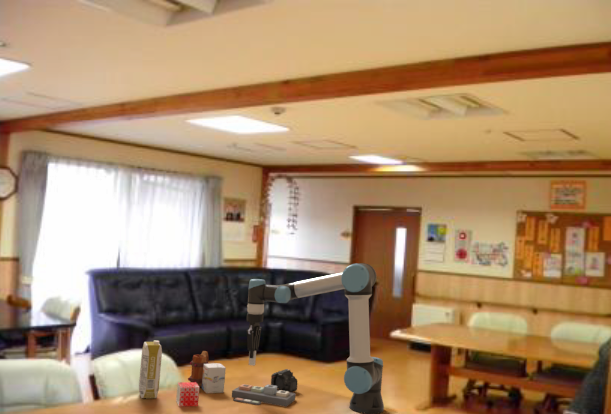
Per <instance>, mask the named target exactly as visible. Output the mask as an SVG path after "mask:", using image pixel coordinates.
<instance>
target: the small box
mask: <svg viewBox="0 0 611 414" xmlns="http://www.w3.org/2000/svg"><path fill="white" fill-rule="evenodd" d="M199 396H200V387H199V386H198V384H197V383H196V382H190V381H189V382H188V381H187V382H179V381H178V382H177V389H176V398H175V401H176V403H177V405H178V407H198V406H199Z"/></svg>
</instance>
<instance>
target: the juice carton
mask: <svg viewBox="0 0 611 414" xmlns="http://www.w3.org/2000/svg"><path fill="white" fill-rule="evenodd" d="M162 356H163V349H162V345H161V344H160V340H153V341H144V342H143V345H142V349H141V358H140V359H141V360H140V369H139V379H138V380H139V381H138V390H139V396H140V398H141V399H142V398H146V399H157V397H158V394H159V389H160V379H161V378H160V377H161V367H162V358H163V357H162Z"/></svg>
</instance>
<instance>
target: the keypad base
mask: <svg viewBox="0 0 611 414" xmlns="http://www.w3.org/2000/svg"><path fill="white" fill-rule="evenodd" d="M253 387H255V386H253V385H252V388H253ZM278 391H279V389H277V392H278ZM231 398H233V399H235V398H242V399H248V400H253V401H259V402H262V403H264V404H269V405H275V406H280V407H285V408H286V407H288V406H289V405H290V404H292V403H293V402H295V401H296V393H295V392H289V396H288V397H280V396H276V394H275V395H269V394H264V392H262V393H257V392H251V390H250V391H245V390H239V386H238V387H236V388H234V389H233V390H231ZM262 403H261V404H262Z"/></svg>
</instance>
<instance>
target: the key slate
mask: <svg viewBox="0 0 611 414" xmlns="http://www.w3.org/2000/svg"><path fill="white" fill-rule="evenodd" d="M263 387H264V394H269V395H275V394H276V392H277V390H278V389H277V386H275V385H271V384H266V385H263Z"/></svg>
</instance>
